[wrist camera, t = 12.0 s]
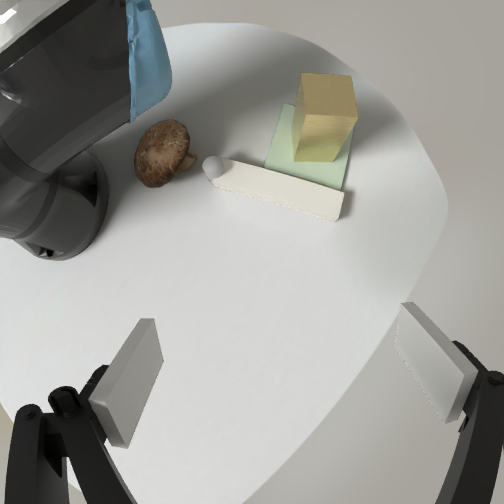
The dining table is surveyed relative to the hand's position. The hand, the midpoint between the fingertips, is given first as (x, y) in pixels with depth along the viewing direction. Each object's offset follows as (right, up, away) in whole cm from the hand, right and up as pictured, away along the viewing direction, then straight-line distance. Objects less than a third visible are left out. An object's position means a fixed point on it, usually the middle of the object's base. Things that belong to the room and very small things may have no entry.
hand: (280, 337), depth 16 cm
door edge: (+1, +11, +19) cm, 22 cm away
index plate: (+5, +17, +19) cm, 26 cm away
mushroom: (-11, +15, +20) cm, 28 cm away
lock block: (+5, +17, +19) cm, 26 cm away
